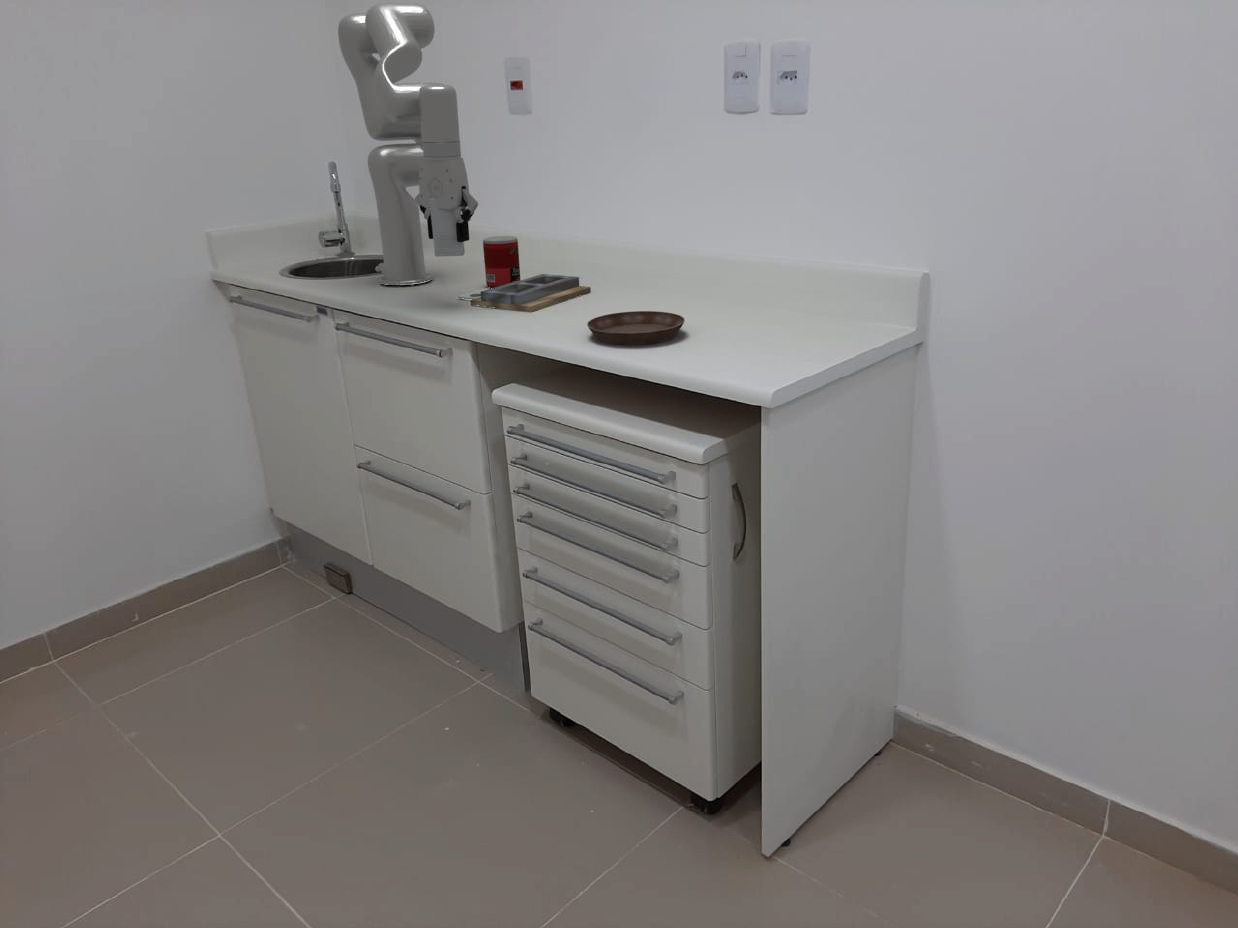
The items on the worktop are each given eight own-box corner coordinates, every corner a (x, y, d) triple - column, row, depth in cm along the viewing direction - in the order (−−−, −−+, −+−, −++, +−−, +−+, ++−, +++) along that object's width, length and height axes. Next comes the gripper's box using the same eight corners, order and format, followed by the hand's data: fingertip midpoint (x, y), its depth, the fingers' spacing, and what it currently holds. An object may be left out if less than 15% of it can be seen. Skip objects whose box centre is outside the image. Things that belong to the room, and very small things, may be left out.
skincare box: (465, 252, 205) (460, 194, 200) (463, 256, 201) (459, 197, 196) (435, 253, 205) (430, 194, 200) (433, 257, 201) (428, 197, 196)
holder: (470, 305, 205) (469, 290, 204) (533, 287, 222) (532, 273, 221) (530, 312, 197) (529, 296, 196) (590, 292, 214) (590, 278, 213)
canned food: (519, 289, 221) (515, 240, 217) (484, 290, 221) (480, 241, 217) (522, 283, 228) (519, 235, 224) (489, 283, 228) (485, 236, 224)
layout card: (456, 299, 212) (456, 295, 212) (485, 290, 220) (485, 287, 220) (481, 301, 209) (480, 298, 208) (509, 293, 216) (509, 289, 216)
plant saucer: (567, 340, 175) (566, 324, 174) (630, 321, 187) (629, 306, 186) (642, 354, 164) (642, 336, 163) (704, 333, 177) (704, 317, 175)
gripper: (397, 150, 196) (405, 239, 203) (462, 154, 188) (469, 246, 195) (422, 147, 202) (430, 233, 209) (487, 151, 193) (492, 240, 200)
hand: (448, 239), depth 202 cm, fingers closed on skincare box, 7 cm apart
